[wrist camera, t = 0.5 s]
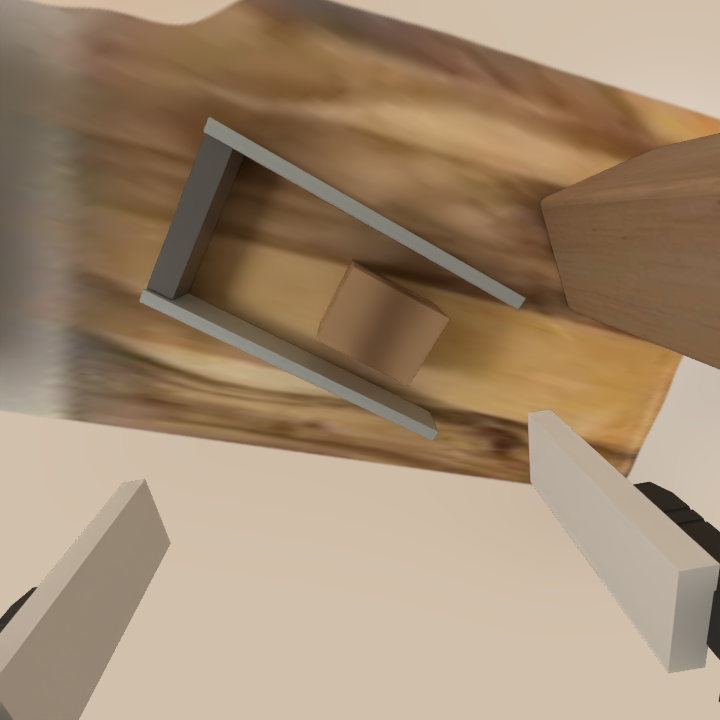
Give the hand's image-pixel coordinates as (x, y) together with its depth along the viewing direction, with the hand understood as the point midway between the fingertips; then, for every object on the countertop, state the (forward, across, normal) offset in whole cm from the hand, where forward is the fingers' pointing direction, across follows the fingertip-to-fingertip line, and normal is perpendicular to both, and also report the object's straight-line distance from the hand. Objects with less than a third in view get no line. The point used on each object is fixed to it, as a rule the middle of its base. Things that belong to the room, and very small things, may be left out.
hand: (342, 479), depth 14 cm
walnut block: (+24, +3, 0) cm, 24 cm away
